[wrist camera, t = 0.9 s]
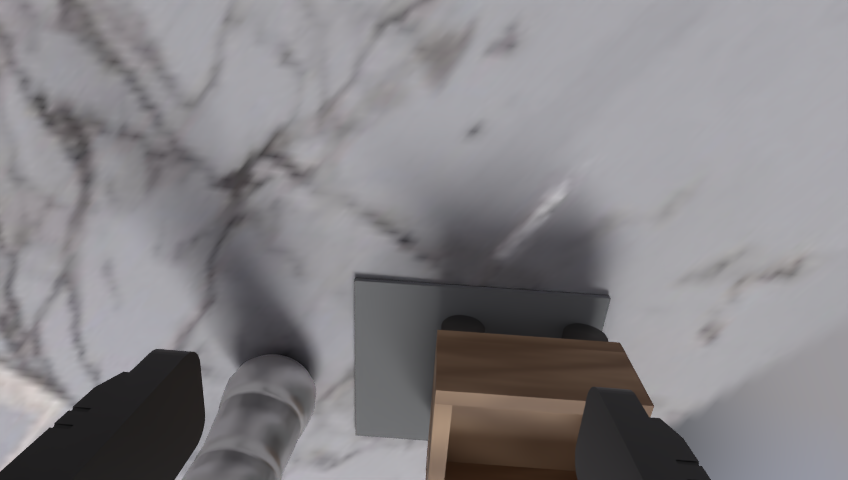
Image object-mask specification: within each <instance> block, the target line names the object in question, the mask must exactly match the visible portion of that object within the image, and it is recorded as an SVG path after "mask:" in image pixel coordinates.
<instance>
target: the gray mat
mask: <svg viewBox="0 0 848 480" xmlns="http://www.w3.org/2000/svg"><path fill="white" fill-rule="evenodd" d="M610 299H611V298H610V297H609V296H607V295H593V294H578V293H564V292H550V291H535V290H521V289H507V288H492V287H478V286H464V285H449V284H435V283H421V282H406V281H392V280H378V279H363V278H355V415H356V435H358V436H372V437H385V438H399V439H412V440H426V441H428V436H429V424H430V412H431V400H432V388H433V376H434V364H435V352H436V340H437V330H441V325H442V322H443V321H444V320H445V319H446V318H448V317H450V316H454V315H466V316H470V317H473V318H475V319H477V320H479V321H480V322H481V323H482V324H483V325H484V327H485V333H491V334H505V335H519V336H533V337H547V338H561V337H562V333H563V329H564V328H565V327H566V326H567V325H569V324H574V323H581V324H587V325H590V326H593V327H595V328H597V329H599V330H600V331H602V329H603V326H604V322H605V318H606V314H607V311H608V307H609V303H610Z"/></svg>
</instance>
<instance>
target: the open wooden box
mask: <svg viewBox="0 0 848 480" xmlns="http://www.w3.org/2000/svg"><path fill="white" fill-rule="evenodd" d="M591 387H605V388H617V389H629V390H632V391H633V392H634V393H635V395H636V396H637V398H638V399H639V401H640V403H641V404H642V406H643V408H644V409H645V411H646V413H647V414H648V416H649V417H650V416H651V414H652V411H653V408H654V405H653V403H652V401H651V399H650V398H649V396H648V394H647V392H646V390H645V388H644V386H643V385H642V383H641V381H640V379H639V377H638V375H637V373H636V372H635V370H634V368H633V366H632V364H631V362H630V360H629V359H628V357H627V355H626V353H625V351H624V349H623V347H622V346H621V344H620V343H617V342H608V338H607V337H606V335H605V334H604V333H603V332H602V331H600V330H599V329H597V328H595V327H593V326H590V325H587V324H581V323H574V324H569V325H567V326H566V327H565V328H564V329H563V333H562V337H561V338H547V337H533V336H519V335H505V334H491V333H485V327H484V325H483V324H482V323H481V322H480V321H479V320H477V319H475V318H473V317H470V316H466V315H454V316H450V317H448V318H446V319H445V320H444V321H443V322H442V325H441V330H437V340H436V352H435V364H434V376H433V388H432V400H431V412H430V424H429V436H428V448H427V462H426V480H577V475H576V469H575V448H576V443H577V439H578V434H579V430H580V425H581V421H582V416H583V412H584V407H585V403H586V398H587V395H588V392H589V390H590V388H591Z"/></svg>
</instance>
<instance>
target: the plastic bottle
mask: <svg viewBox="0 0 848 480" xmlns="http://www.w3.org/2000/svg"><path fill="white" fill-rule="evenodd" d="M315 399H316V387H315V384H314V381H313V379H312V378H311V376H310V374H309V372H308V371H307V370H306V369H305V367H304V366H302V365H301V364H300V363H299V362H297V361H295V360H294V359H292V358H289V357H287V356H283V355H277V354H267V355H262V356H258V357H255V358H252V359H250V360H248V361H246V362H245V363H243V364H242V365H241V366H240V368H239V369H238V370H237V371H236V372H235V373H234V374H233V375H232V377H231V378H230V379H229V381H228V383H227V385H226V388H225V390H224V393H223V396H222V398H221V402H220V405H219V411H218V413H217V416H216V418H215V420H214V422H213V425H212V427H211V429H210V432H209V434H208V436H207V438H206V441H205V443H204V445H203V447H202V448H201V450H200V451H199V453H198V455H197V456H196V458H195V460H194V462H193V463H192V464H191V466H190V467H189V469H188V471H187V472H186V474H185V475H184V477H183V479H182V480H281V478H282V475H283V472H284V470H285V468H286V465H287V463H288V461H289V459H290V456H291V454H292V452H293V450H294V448H295V445H296V443H297V441H298V439H299V438H300V436H301V435H302V433H303V432H304V430H305V428H306V426H307V424H308V422H309V420H310V418H311V416H312V415H313V412H314V408H315Z"/></svg>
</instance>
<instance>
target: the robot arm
mask: <svg viewBox="0 0 848 480" xmlns="http://www.w3.org/2000/svg"><path fill="white" fill-rule="evenodd" d="M204 423H205V408H204V397H203V387H202V377H201V366H200V359H199V357H198V355H197V354H196V353H195V352H188V351H176V350H164V349H155V350H153V351H152V352H151V353H149V354H148V355H147V356H146V357H145V358H144V359H143V360H142V361H141V362H140V363H139V364H138V365H137V366H136V367H135V368H134V369H132V370H131V371H130V372H122V373H120V374H118V375H117V376H115V377H113V378H111V379H109V380H107V381H105V382H104V383H102V384H100V385H98V386H96V387H94V388H93V389H92V390H91V391H90V392H89V393H88V394H87V395H86V396H84V397H83V398H82V399H81V400H80V401H79V402H78V403H77V404H75V405H74V406H73V410H72V411H68V412H67V413H65V414H64V415H63V416H62V417H61V418H60V419H59V420H58V421H56V422H55V425H54V427H53V428H49V429H48V430H46V431H45V432H44V433H43V434H42V435H41V436H40V437H39V438H37V439H36V440H35V441H34V442H33V443H32V444H31V445H30V446H29V447H27V448H26V449H25V450H24V451H23V452H22V453H21V454H20V455H18V456H17V457H16V458H15V459H14V460H13V461H12V462H11V463H10V464H8V465H7V466H6V467H5V468H4V469H3V470H2V471H1V472H0V480H175V478H176V477H177V475H178V474H179V472H180V471H181V469H182V468H183V466H184V465H185V463H186V462H187V460H188V459H189V457H190V456H191V454H192V453H193V451H194V450H195V448H196V446H197V445H198V443H199V440H200V438H201V435H202V432H203V428H204ZM575 469H576V475H577V480H711V479H710V478H709V476H708V475H707V473H706V472H705V470H704V469H703V467H702V466H699V461H698V460H697V458H696V457H695V455H694V454H693V452H692V451H691V449H690V448H689V446H688V445H687V443H686V442H685V440H684V439H683V438H682V437H681V436H680V435H679V434H678V433H676V432H675V431H674V430H673V429H672V428H671V427H669V426H668V425H667V424H666V423H665V422H664V421H662V420H661V419H660V418H650V417H649V416H648V414H647V413H646V411H645V409H644V408H643V406H642V404H641V403H640V401H639V399H638V398H637V396H636V395H635V393H634V392H633V391H632V390H629V389H617V388H605V387H591V388H590V390H589V392H588V395H587V398H586V403H585V407H584V412H583V416H582V421H581V425H580V430H579V434H578V439H577V443H576V448H575Z"/></svg>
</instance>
